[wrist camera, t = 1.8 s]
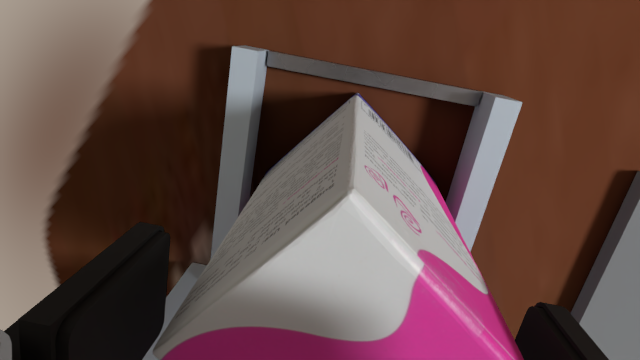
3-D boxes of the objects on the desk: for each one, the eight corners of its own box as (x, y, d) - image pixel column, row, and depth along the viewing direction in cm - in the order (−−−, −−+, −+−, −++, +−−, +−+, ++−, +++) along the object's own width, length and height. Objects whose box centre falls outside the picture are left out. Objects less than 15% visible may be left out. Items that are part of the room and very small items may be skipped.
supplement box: (261, 175, 19) (135, 353, 8) (357, 89, 17) (361, 169, 6) (343, 259, 20) (328, 516, 9) (440, 186, 18) (564, 393, 8)
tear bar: (271, 50, 17) (268, 50, 16) (477, 90, 17) (481, 92, 16) (269, 65, 17) (266, 65, 17) (473, 104, 17) (477, 106, 16)
